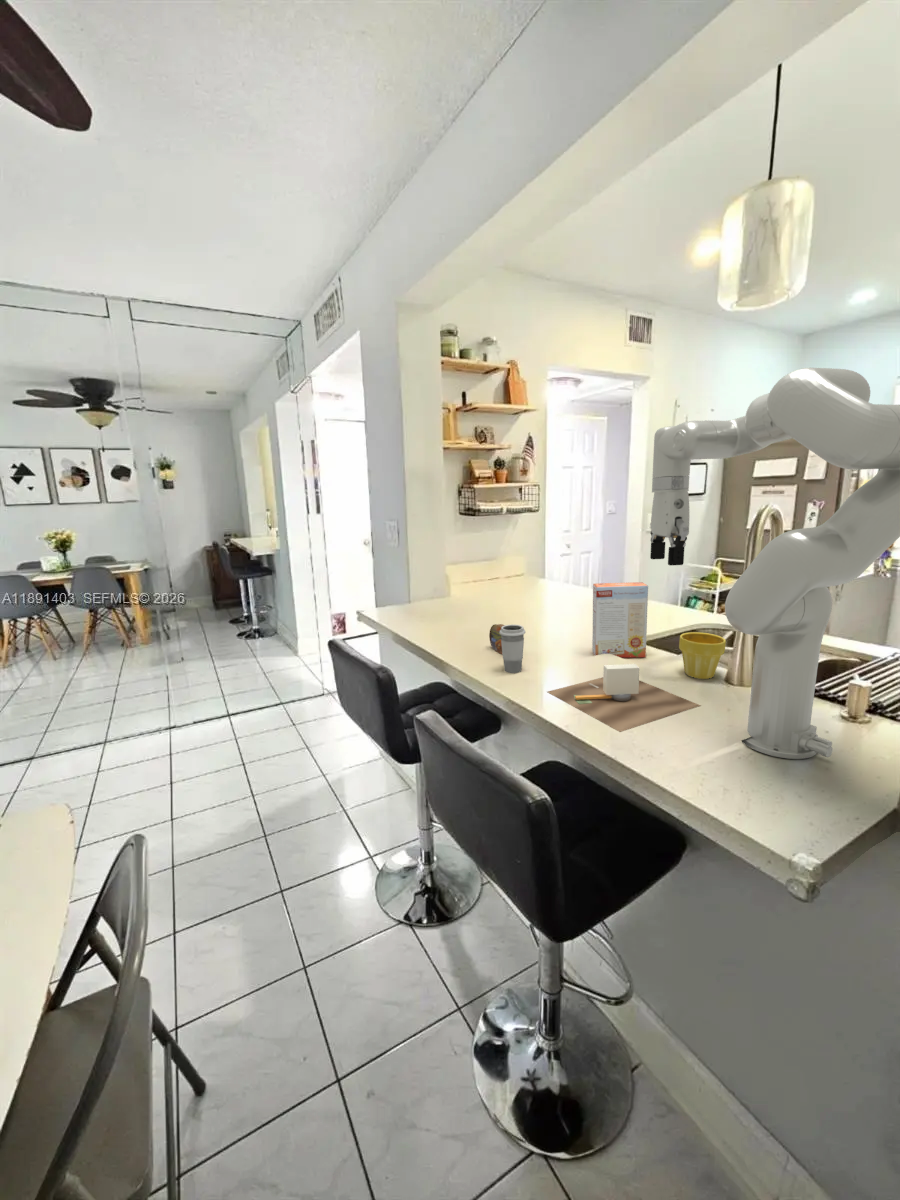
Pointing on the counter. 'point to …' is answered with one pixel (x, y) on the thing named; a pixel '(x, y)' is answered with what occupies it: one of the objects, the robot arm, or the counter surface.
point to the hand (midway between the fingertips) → (666, 561)
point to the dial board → (624, 704)
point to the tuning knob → (618, 682)
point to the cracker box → (620, 619)
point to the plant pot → (701, 653)
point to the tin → (496, 637)
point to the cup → (512, 647)
